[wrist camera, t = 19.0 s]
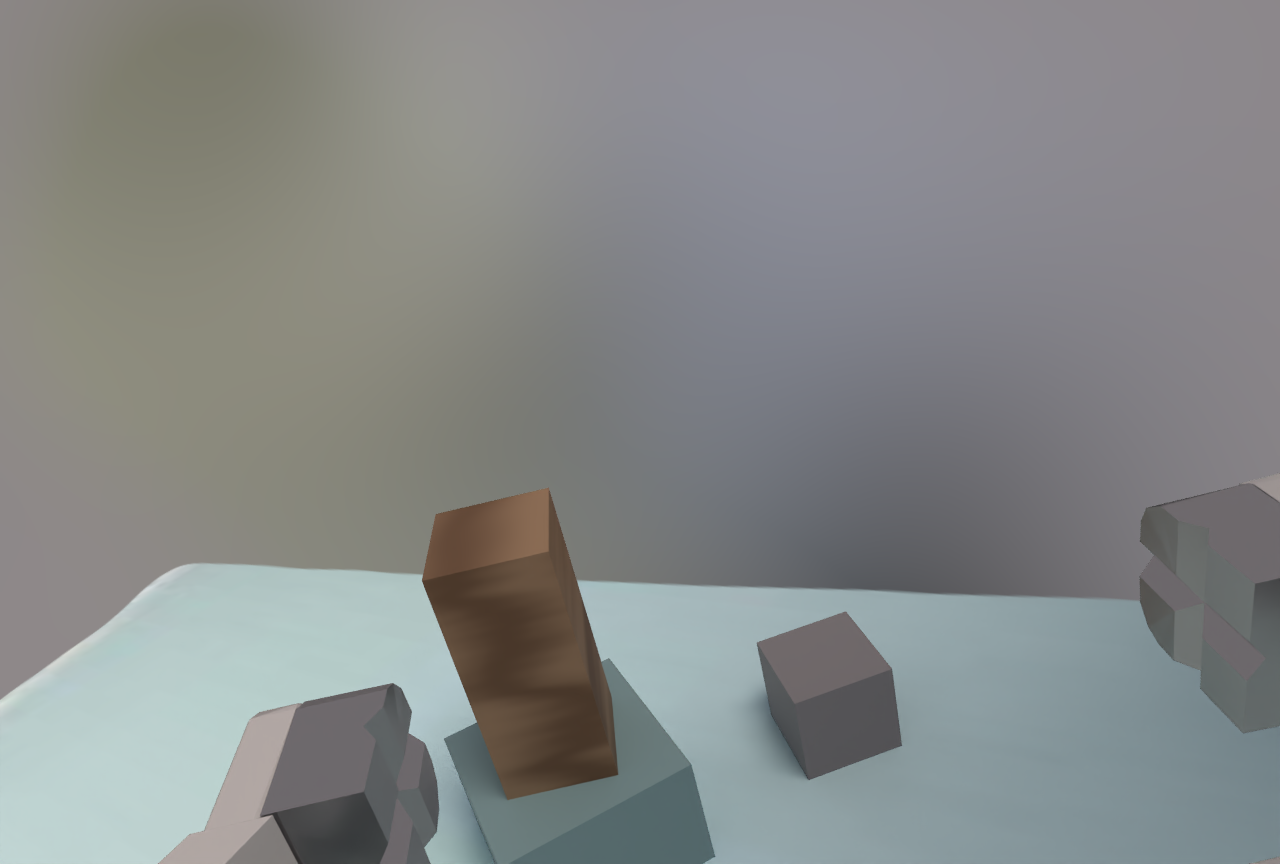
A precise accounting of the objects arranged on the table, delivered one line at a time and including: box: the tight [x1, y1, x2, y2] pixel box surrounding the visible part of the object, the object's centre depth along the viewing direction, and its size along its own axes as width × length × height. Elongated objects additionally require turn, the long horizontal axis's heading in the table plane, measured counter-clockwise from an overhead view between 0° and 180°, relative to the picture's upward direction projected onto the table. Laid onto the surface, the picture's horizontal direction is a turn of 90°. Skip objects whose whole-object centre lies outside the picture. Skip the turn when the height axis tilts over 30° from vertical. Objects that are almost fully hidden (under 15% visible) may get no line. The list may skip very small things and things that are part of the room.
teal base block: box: [444, 658, 715, 864], centre depth 45 cm, size 9×9×6 cm
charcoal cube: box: [757, 612, 902, 780], centre depth 48 cm, size 5×5×5 cm
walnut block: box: [422, 488, 618, 800], centre depth 42 cm, size 5×5×12 cm
